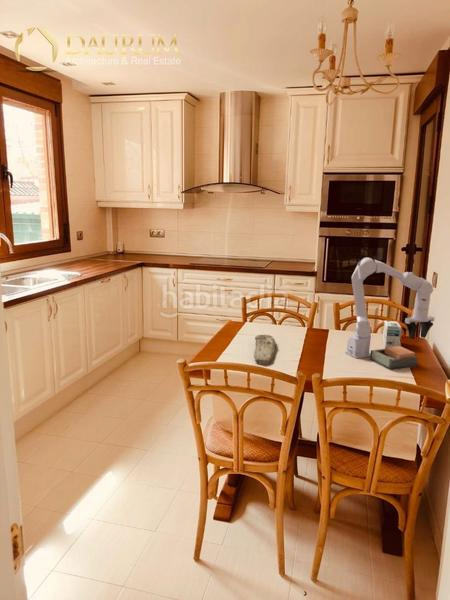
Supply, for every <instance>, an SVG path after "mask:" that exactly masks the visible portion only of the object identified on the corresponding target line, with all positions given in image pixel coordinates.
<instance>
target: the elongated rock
mask: <svg viewBox="0 0 450 600" xmlns="http://www.w3.org/2000/svg"><path fill="white" fill-rule="evenodd" d="M254 339H255V349H254V351H253V353H254V354H253V356H254V357H253V358H254V361H255V363H256V364H257V365H261V366H268V365H269V364H270V363H271V362H272V360H273V358H274V356H275V350H276V339H275V338H274V337H273V336H272V335H270V334H257V335H256V336H255V337H254Z"/></svg>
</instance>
